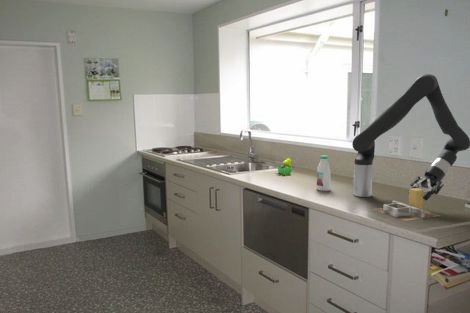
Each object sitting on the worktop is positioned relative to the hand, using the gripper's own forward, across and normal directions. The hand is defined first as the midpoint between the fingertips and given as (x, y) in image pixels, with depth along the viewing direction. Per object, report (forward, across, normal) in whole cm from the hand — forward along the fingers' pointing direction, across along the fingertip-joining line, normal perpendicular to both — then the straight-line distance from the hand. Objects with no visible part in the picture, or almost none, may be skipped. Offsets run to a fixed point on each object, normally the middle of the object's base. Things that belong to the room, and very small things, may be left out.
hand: (417, 197), depth 178 cm
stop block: (+5, 0, +4) cm, 6 cm away
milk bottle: (+15, -57, -4) cm, 59 cm away
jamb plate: (+10, 0, +1) cm, 10 cm away
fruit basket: (+13, -110, -2) cm, 111 cm away
